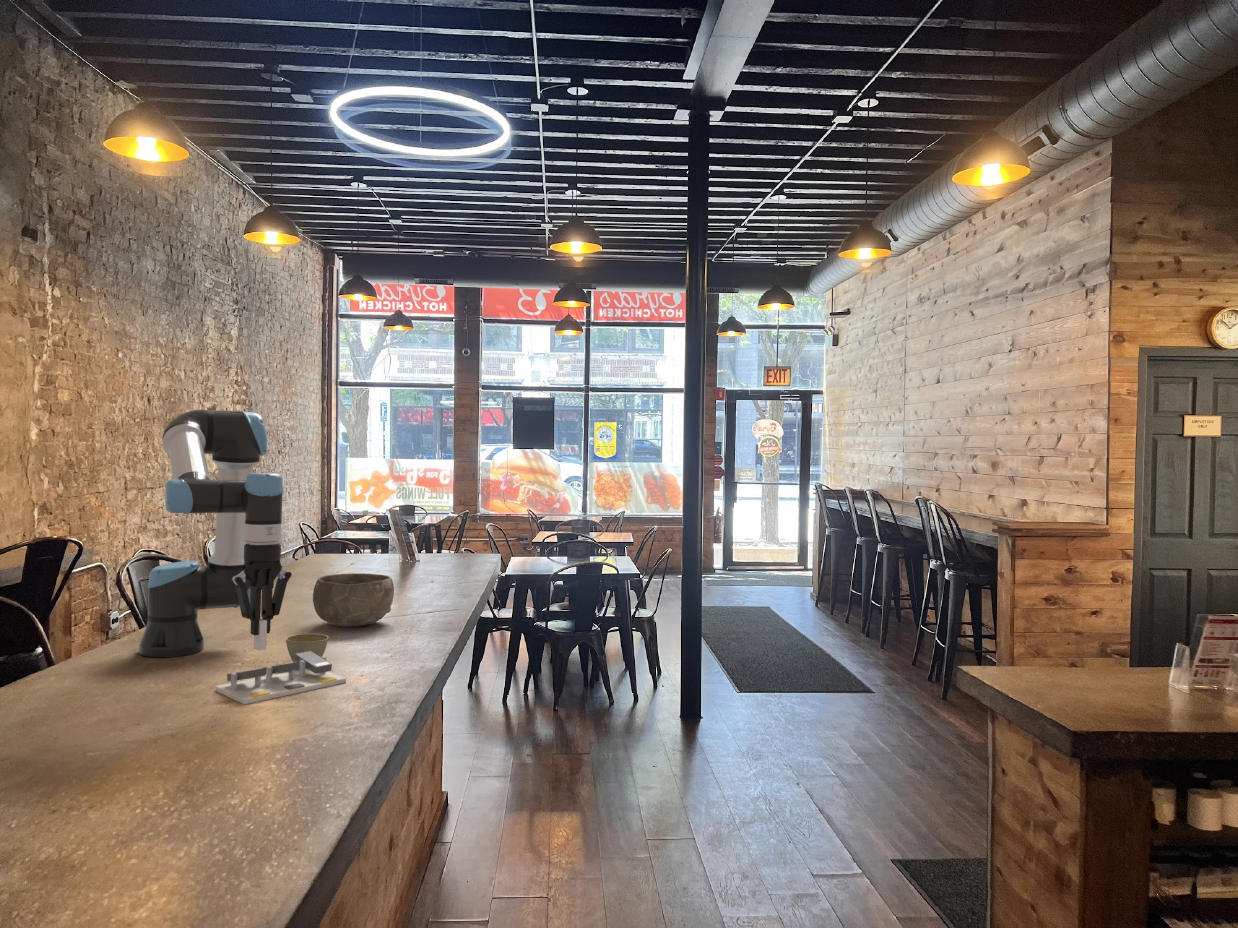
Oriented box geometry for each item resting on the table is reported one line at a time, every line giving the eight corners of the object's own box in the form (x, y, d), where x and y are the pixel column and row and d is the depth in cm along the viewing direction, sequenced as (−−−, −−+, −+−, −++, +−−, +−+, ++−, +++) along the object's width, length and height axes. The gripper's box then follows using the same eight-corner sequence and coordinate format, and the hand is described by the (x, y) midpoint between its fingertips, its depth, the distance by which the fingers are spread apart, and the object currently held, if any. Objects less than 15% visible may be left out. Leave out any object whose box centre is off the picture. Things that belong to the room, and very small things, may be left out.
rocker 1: (226, 681, 181) (226, 673, 181) (246, 677, 184) (245, 670, 185) (246, 678, 175) (246, 670, 175) (266, 674, 178) (265, 667, 178)
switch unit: (215, 690, 181) (216, 669, 181) (315, 670, 199) (315, 651, 199) (244, 704, 172) (244, 681, 171) (345, 682, 190) (346, 662, 190)
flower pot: (313, 672, 198) (313, 643, 198) (276, 668, 200) (277, 640, 200) (335, 662, 207) (336, 634, 207) (300, 659, 209) (301, 631, 209)
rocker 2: (261, 674, 187) (260, 667, 187) (279, 671, 190) (279, 664, 191) (282, 671, 181) (281, 664, 181) (300, 668, 184) (299, 660, 184)
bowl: (409, 624, 255) (411, 577, 255) (347, 637, 235) (348, 586, 235) (359, 614, 268) (360, 569, 268) (295, 626, 248) (296, 577, 247)
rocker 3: (293, 660, 194) (294, 653, 193) (310, 657, 197) (311, 650, 197) (314, 673, 187) (315, 666, 187) (332, 670, 190) (332, 663, 190)
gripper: (241, 546, 170) (238, 657, 170) (299, 542, 180) (296, 646, 180) (225, 542, 175) (222, 650, 175) (282, 539, 185) (279, 641, 185)
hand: (259, 648), depth 178 cm, fingers closed
